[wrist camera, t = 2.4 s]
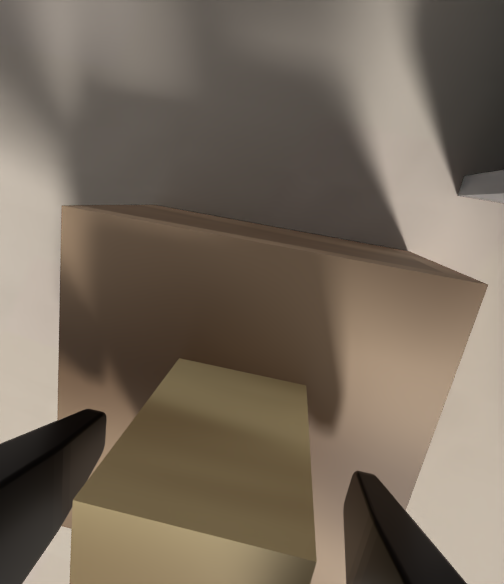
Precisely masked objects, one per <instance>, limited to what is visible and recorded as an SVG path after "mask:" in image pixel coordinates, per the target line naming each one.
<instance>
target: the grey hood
mask: <svg viewBox="0 0 504 584" xmlns="http://www.w3.org/2000/svg"><path fill="white" fill-rule="evenodd" d="M458 196H463V197H469V198H475V199H481V200H487V201H493V202H499V203H504V170H499V171H492V172H486V173H480V174H474V175H468V176H464V178H463V181H462V184H461V187H460V191H459V194H458Z"/></svg>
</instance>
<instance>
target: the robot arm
mask: <svg viewBox="0 0 504 584" xmlns="http://www.w3.org/2000/svg"><path fill="white" fill-rule="evenodd" d="M106 422H107V416H106V414H105V413H104V412H102V411H98V410H94V409H85V410H82V411H79V412H77V413H75V414H72V415H70V416H67V417H65V418H62V419H60V420H57V421H55V422H53V423H50V424H48V425H45V426H43V427H40V428H38V429H35V430H33V431H31V432H28V433H26V434H23V435H21V436H18V437H16V438H13V439H11V440H8V441H6V442H4V443H1V444H0V584H22V583H23V582H24V580H25V579H26V577H27V576H28V574H29V573H30V571H31V570H32V569H33V567H34V566H35V564H36V563H37V561H38V560H39V558H40V557H41V555H42V554H43V553H44V551H45V550H46V548H47V547H48V545H49V544H50V542H51V541H52V539H53V538H54V536H55V535H56V533H57V532H58V530H59V529H60V527H61V526H62V524H63V522H64V521H65V519H66V517H67V516H68V514H69V512H70V510H71V509H72V505H73V499H74V498H75V496H76V495H77V494H78V492H79V491H80V490H81V488H82V487H83V486H84V484H85V483H86V482H87V480H88V478H89V477H90V475H91V473H92V471H93V469H94V468H95V466H96V464H97V462H98V460H99V459H100V457H101V455H102V453H103V450H104V447H105V438H106ZM343 520H344V544H345V567H346V584H467V583H466V582H465V581H464V580H463V578H462V577H461V576H460V575H459V574H458V573H457V571H456V570H455V569H454V568H453V567H452V565H451V564H450V563H449V562H448V561H447V559H446V558H445V557H444V556H443V555H442V553H441V552H440V551H439V550H438V549H437V548H436V546H435V545H434V544H433V543H432V542H431V540H430V539H429V538H428V537H427V536H426V534H425V533H424V532H423V531H422V530H421V528H420V527H419V526H418V525H417V524H416V523H415V521H414V520H413V519H412V518H411V517H410V515H409V514H408V513H407V512H406V511H405V509H404V508H403V507H402V506H401V505H400V503H399V502H398V501H397V500H396V499H395V498H394V496H393V495H392V494H391V493H390V492H389V490H388V489H387V488H386V487H385V486H384V484H383V483H382V482H381V481H380V480H379V478H378V477H377V476H376V475H374V474H371V473H367V472H362V471H355V472H354V473H353V475H352V478H351V481H350V484H349V488H348V491H347V494H346V498H345V501H344V508H343Z"/></svg>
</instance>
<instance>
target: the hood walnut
mask: <svg viewBox="0 0 504 584" xmlns="http://www.w3.org/2000/svg"><path fill="white" fill-rule="evenodd" d="M487 287H488V285H487V284H485V283H483V282H480V281H478V280H476V279H473V278H471V277H468V276H466V275H464V274H461V273H459V272H457V271H454V270H452V269H450V268H447V267H445V266H442V265H440V264H438V263H435V262H433V261H431V260H428V259H426V258H423V257H421V256H419V255H416V254H414V253H412V252H409V251H405V250H399V249H394V248H388V247H383V246H377V245H372V244H366V243H361V242H355V241H350V240H344V239H339V238H333V237H328V236H322V235H317V234H311V233H306V232H300V231H295V230H289V229H284V228H278V227H273V226H267V225H262V224H256V223H251V222H245V221H240V220H234V219H229V218H223V217H218V216H212V215H207V214H201V213H196V212H190V211H185V210H179V209H174V208H168V207H163V206H157V205H69V206H62V215H61V267H60V319H59V370H58V420H60V419H62V418H65V417H67V416H70V415H72V414H75V413H77V412H79V411H82V410H85V409H94V410H98V411H102V412H104V413H105V414H106V416H107V422H106V438H105V447H104V450H103V453H102V455H101V457H100V459H99V460H98V462H97V464H96V466H95V468H94V469H93V471H92V473H91V475H90V477H89V478H88V480H87V482H86V483H85V484H84V486H83V487H82V488H81V490H80V491H79V492H78V494H77V495H76V496H75V498H74V499H73V505H72V509H71V510H70V512H69V514H68V516H67V517H66V519H65V521H64V522H63V524H62V526H64V527H68V528H71V529H72V533H71V561H70V584H346V567H345V544H344V520H343V508H344V501H345V498H346V494H347V491H348V488H349V484H350V481H351V478H352V475H353V473H354V472H355V471H362V472H367V473H371V474H374V475H376V476H377V477H378V478H379V480H380V481H381V482H382V483H383V484H384V486H385V487H386V488H387V489H388V490H389V492H390V493H391V494H392V495H393V496H394V498H395V499H396V500H397V501H398V502H399V503H400V505H401V506H402V507H403V508H404V509H405V511H406V508H407V505H408V502H409V500H410V497H411V494H412V491H413V489H414V486H415V483H416V481H417V478H418V475H419V472H420V470H421V467H422V464H423V461H424V459H425V456H426V453H427V450H428V448H429V445H430V442H431V440H432V437H433V434H434V431H435V429H436V426H437V423H438V420H439V418H440V415H441V412H442V409H443V407H444V404H445V401H446V399H447V396H448V393H449V390H450V388H451V385H452V382H453V379H454V377H455V374H456V371H457V369H458V366H459V363H460V360H461V358H462V355H463V352H464V349H465V347H466V344H467V341H468V338H469V336H470V333H471V330H472V328H473V325H474V322H475V319H476V317H477V314H478V311H479V308H480V306H481V303H482V300H483V298H484V295H485V292H486V289H487Z"/></svg>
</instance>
